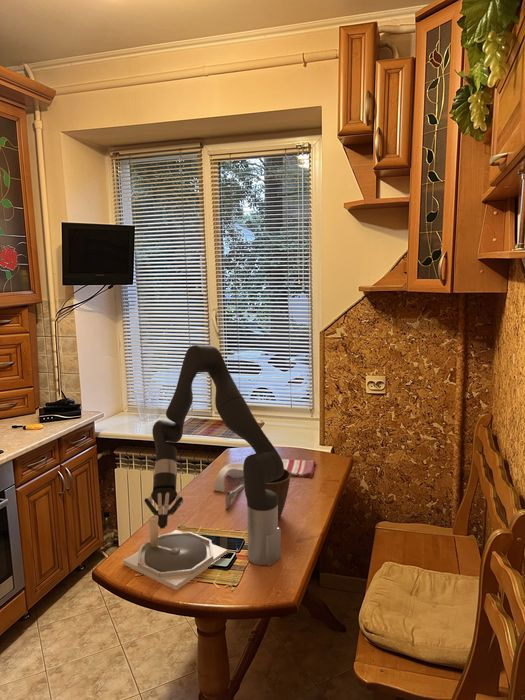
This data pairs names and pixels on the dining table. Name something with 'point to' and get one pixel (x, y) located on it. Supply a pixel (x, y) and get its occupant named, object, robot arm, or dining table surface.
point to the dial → (173, 551)
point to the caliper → (232, 495)
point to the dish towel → (299, 467)
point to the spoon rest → (233, 470)
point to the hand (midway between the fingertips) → (162, 527)
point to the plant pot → (280, 490)
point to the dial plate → (180, 576)
